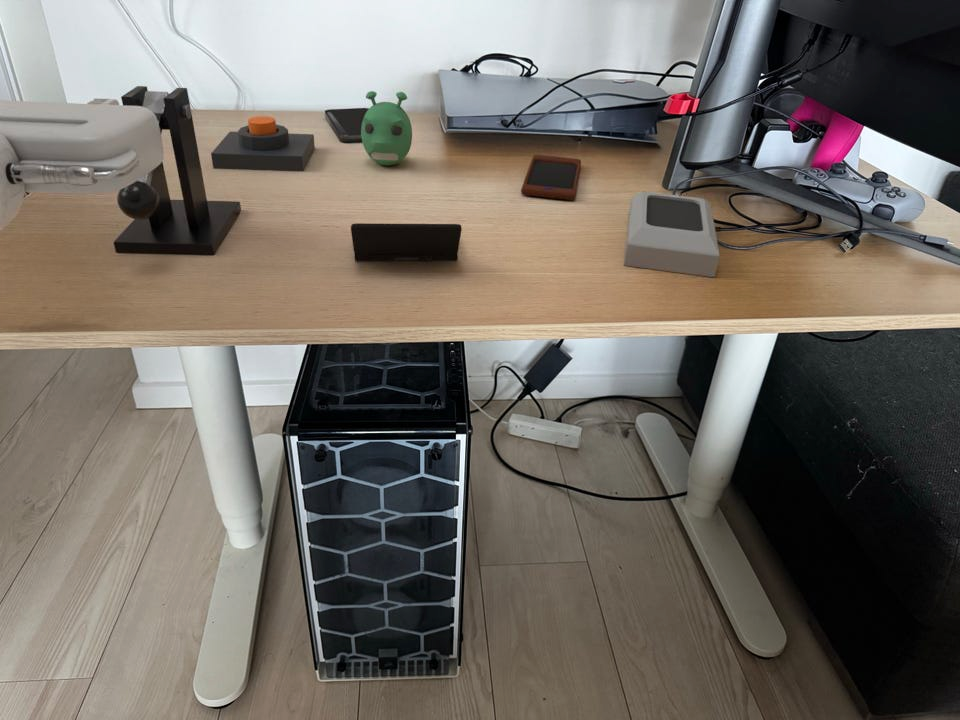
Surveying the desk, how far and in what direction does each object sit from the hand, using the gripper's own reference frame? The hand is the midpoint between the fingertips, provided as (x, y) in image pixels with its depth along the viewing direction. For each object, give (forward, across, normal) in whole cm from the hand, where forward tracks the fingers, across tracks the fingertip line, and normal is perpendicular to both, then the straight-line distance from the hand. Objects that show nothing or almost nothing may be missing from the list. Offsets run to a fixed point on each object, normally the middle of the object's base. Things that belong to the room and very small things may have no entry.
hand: (42, 107), depth 51 cm
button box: (+46, -4, +19) cm, 50 cm away
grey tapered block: (+21, -55, +19) cm, 62 cm away
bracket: (+21, 0, +19) cm, 28 cm away
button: (+46, -4, +15) cm, 49 cm away
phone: (+62, -15, +19) cm, 66 cm away
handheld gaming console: (+16, -25, +19) cm, 35 cm away
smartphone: (+41, -44, +19) cm, 63 cm away
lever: (+17, 0, +10) cm, 20 cm away
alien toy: (+45, -21, +19) cm, 53 cm away
